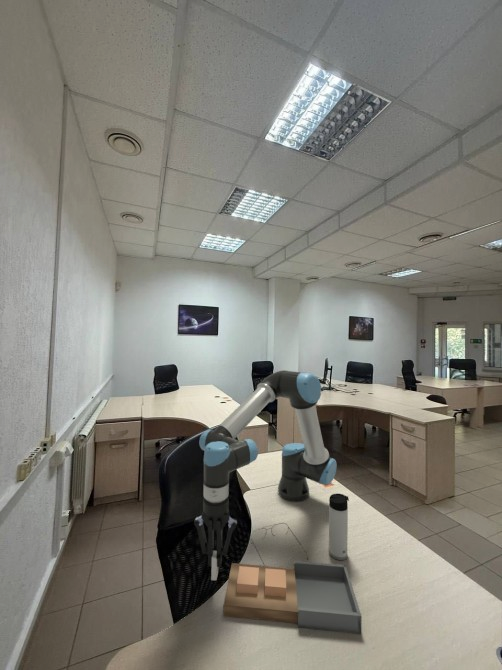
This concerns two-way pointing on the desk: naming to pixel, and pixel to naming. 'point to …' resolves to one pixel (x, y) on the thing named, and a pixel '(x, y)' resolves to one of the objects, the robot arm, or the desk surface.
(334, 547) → the travel mug
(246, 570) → the tile
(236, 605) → the wooden plank
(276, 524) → the eyeglasses
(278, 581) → the tile
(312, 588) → the tray
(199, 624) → the desk surface
